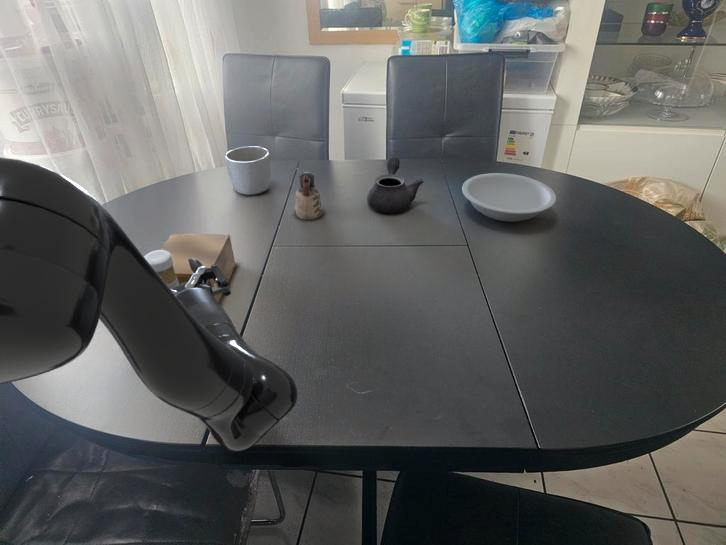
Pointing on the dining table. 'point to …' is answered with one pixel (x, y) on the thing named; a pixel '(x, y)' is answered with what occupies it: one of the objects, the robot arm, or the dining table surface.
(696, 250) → the dining table surface
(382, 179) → the teapot
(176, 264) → the cabinet
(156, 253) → the sprinkles bottle
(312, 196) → the figurine
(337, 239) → the dining table surface
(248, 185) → the planter
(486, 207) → the soup bowl
